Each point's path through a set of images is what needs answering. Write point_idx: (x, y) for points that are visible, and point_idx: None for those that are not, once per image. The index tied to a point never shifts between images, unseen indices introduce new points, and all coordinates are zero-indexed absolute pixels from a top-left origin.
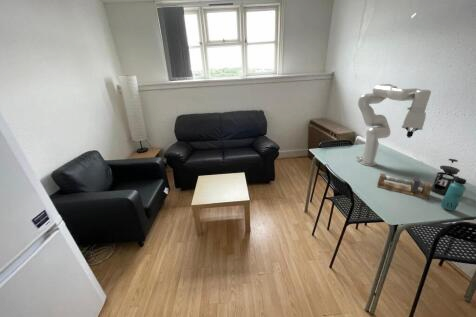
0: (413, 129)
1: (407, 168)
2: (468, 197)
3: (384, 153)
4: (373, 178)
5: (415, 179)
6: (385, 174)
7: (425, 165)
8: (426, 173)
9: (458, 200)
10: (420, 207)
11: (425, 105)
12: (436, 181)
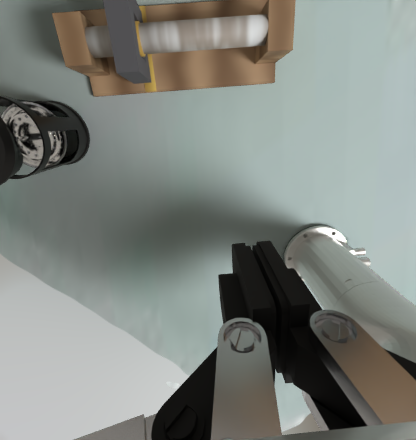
0: (263, 386)
1: (181, 282)
2: None
3: None
4: (291, 100)
5: (125, 3)
6: (268, 47)
7: (135, 337)
8: (123, 275)
9: None
10: None
11: None
12: (53, 117)
